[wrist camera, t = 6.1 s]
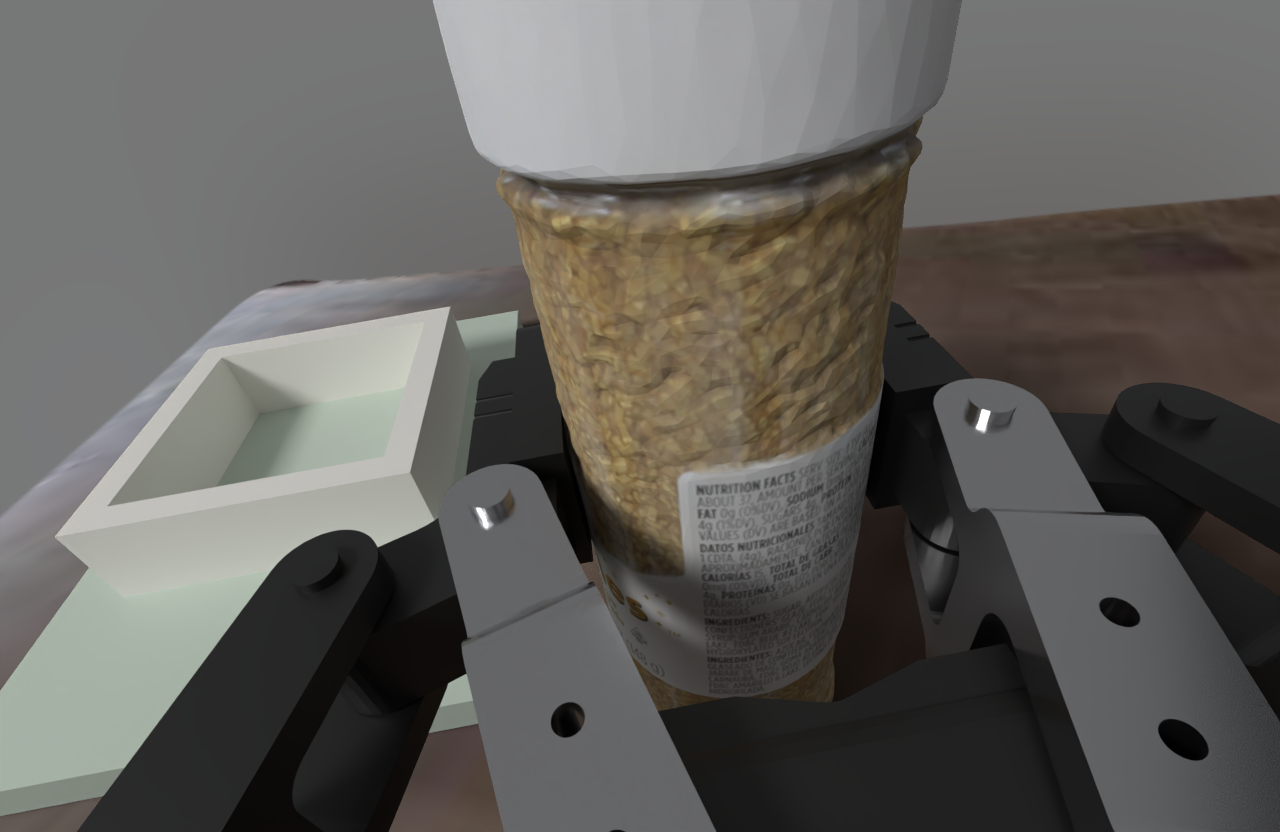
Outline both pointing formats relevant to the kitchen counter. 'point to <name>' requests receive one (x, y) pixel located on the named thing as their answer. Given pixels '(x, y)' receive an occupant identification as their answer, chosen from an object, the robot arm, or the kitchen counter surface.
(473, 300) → the kitchen counter surface
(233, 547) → the socket board
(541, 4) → the spice jar
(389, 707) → the robot arm
